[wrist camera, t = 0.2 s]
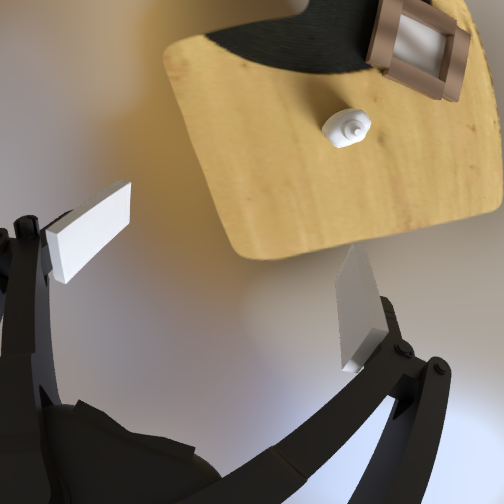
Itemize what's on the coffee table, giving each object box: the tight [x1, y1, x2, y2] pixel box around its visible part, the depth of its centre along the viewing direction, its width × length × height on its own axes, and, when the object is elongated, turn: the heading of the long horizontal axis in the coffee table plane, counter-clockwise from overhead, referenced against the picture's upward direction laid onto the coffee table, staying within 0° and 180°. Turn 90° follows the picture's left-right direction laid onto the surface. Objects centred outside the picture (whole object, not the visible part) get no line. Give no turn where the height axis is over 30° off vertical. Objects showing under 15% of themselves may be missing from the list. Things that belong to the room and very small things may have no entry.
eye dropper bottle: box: [322, 108, 371, 148], centre depth 32 cm, size 4×6×12 cm
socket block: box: [365, 0, 471, 102], centre depth 27 cm, size 14×14×3 cm
